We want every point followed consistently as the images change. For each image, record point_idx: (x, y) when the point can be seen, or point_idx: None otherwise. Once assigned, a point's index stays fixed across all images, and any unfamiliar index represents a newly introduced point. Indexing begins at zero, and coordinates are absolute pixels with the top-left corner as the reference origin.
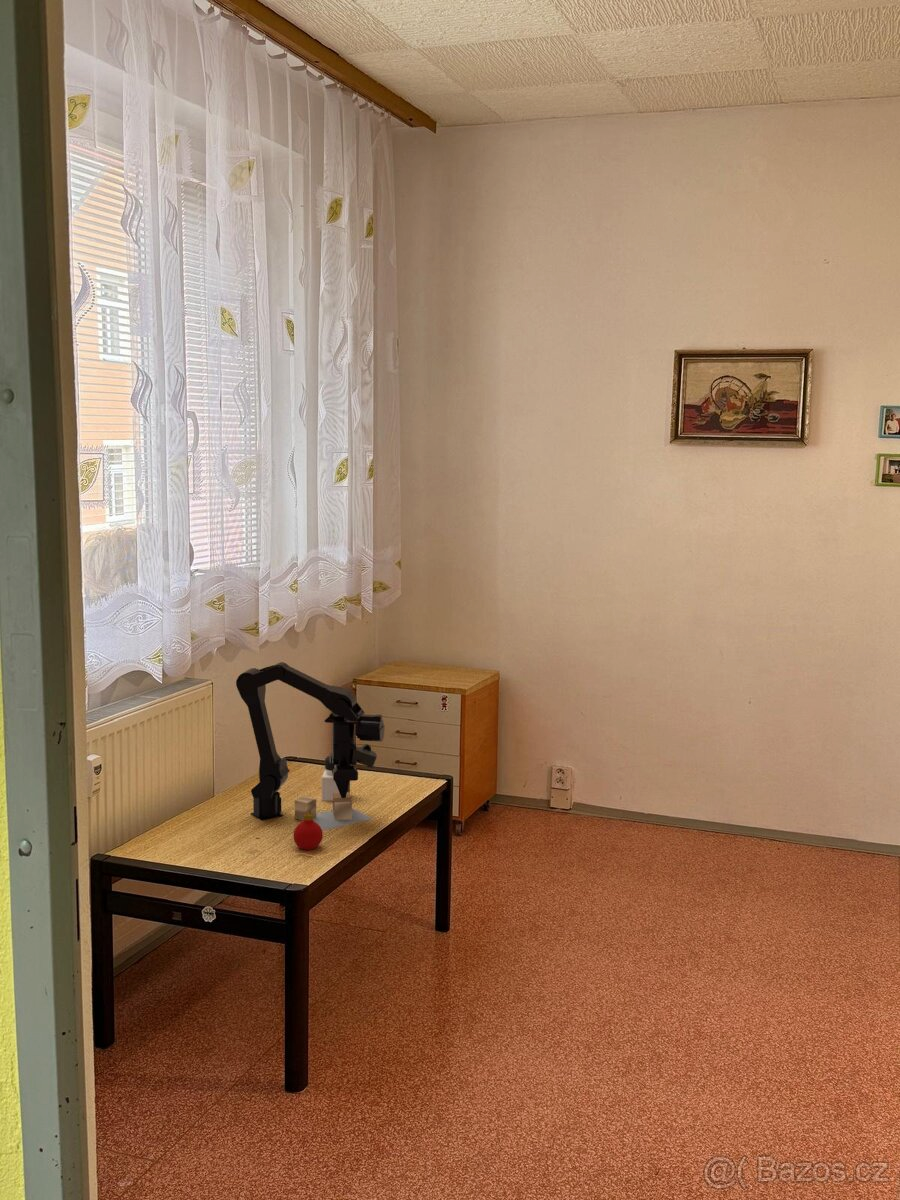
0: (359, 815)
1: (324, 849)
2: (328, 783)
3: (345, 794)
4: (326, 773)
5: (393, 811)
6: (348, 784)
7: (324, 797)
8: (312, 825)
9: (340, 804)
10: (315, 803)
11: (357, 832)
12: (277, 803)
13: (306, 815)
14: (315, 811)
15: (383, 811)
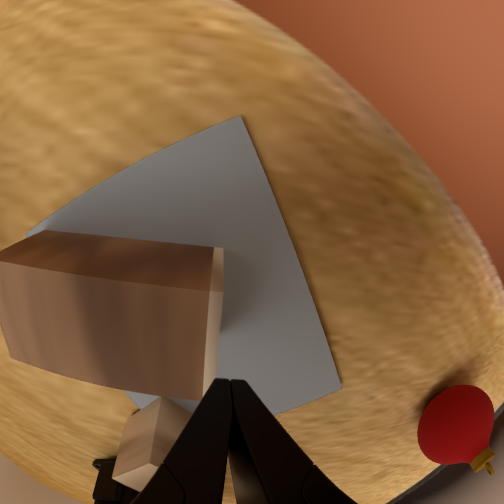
0: (161, 190)
1: (460, 364)
2: None
3: (261, 405)
4: None
5: (127, 4)
6: (335, 488)
7: None
8: (490, 433)
9: (216, 365)
10: (158, 448)
11: (396, 248)
12: (134, 496)
13: (485, 465)
14: (164, 418)
15: (108, 48)
